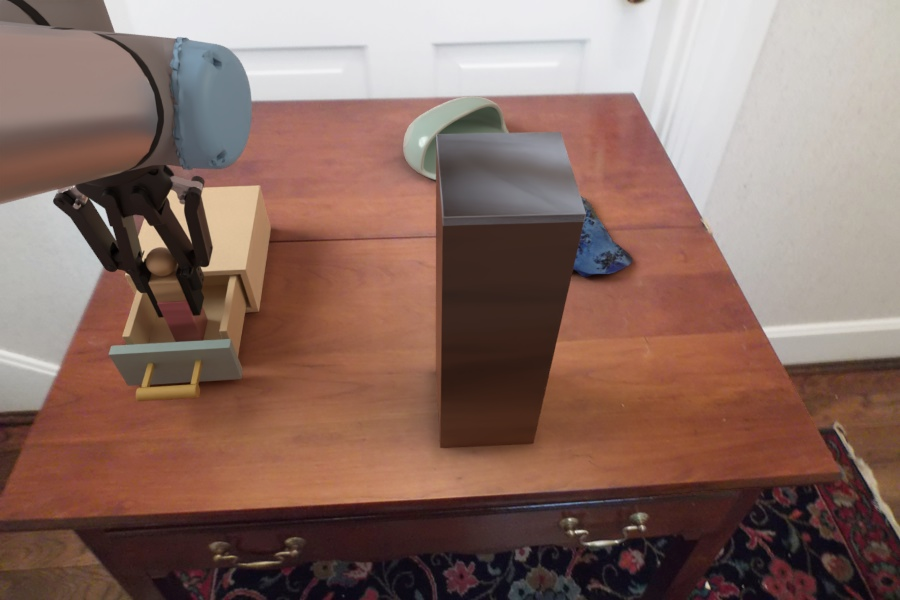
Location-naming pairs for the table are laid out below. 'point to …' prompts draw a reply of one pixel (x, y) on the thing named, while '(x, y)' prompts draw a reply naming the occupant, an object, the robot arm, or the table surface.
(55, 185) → the robot arm
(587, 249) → the rock
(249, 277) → the cabinet
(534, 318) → the stand
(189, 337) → the doll
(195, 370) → the drawer
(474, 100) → the planter
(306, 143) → the table surface
